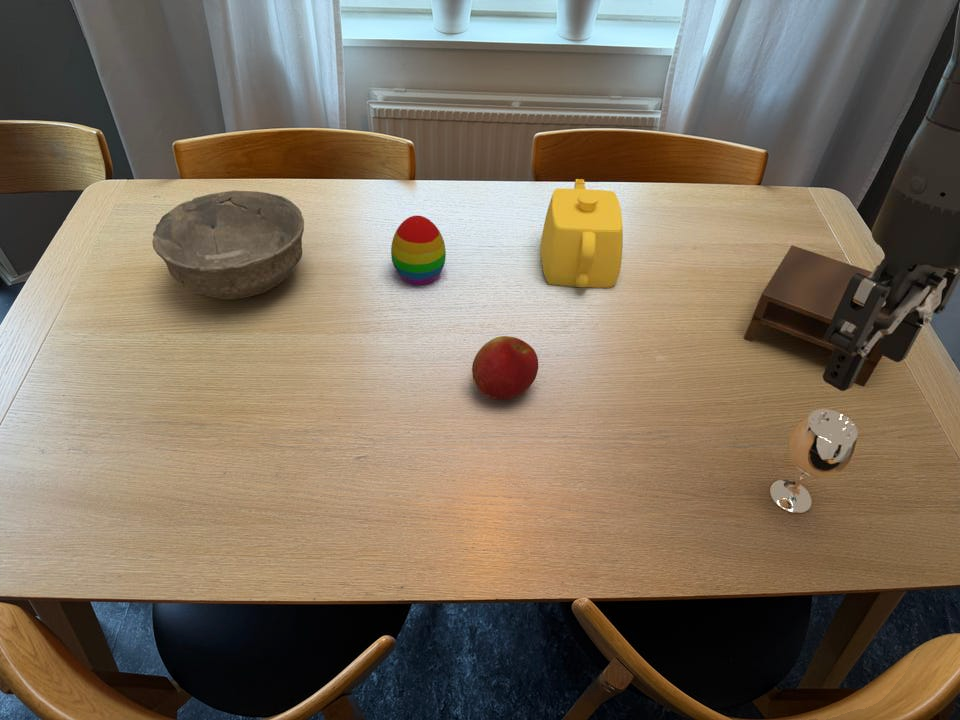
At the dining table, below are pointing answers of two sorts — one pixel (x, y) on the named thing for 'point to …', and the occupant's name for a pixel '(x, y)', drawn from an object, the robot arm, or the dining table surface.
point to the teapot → (582, 238)
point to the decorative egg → (418, 250)
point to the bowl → (231, 242)
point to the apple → (505, 367)
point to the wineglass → (815, 455)
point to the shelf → (809, 301)
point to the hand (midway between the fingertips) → (863, 370)
